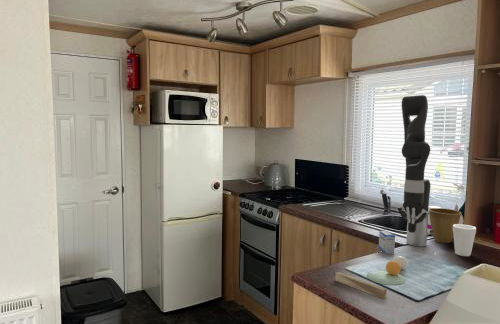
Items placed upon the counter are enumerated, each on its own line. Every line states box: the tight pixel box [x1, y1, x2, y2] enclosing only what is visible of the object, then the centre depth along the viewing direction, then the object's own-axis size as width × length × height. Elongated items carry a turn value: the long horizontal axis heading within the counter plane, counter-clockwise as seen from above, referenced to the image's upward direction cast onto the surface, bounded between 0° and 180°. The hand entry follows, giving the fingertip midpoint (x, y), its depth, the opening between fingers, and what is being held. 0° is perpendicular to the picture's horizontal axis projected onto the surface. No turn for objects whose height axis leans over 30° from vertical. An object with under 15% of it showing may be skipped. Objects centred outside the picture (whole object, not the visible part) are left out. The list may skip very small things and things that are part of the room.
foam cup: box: [453, 223, 477, 257], centre depth 180 cm, size 10×9×13 cm
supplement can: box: [427, 205, 442, 236], centre depth 216 cm, size 8×8×15 cm
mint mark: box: [366, 270, 406, 286], centre depth 150 cm, size 14×14×1 cm
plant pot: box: [429, 207, 462, 244], centre depth 201 cm, size 15×15×16 cm
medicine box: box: [378, 230, 396, 254], centre depth 184 cm, size 8×4×9 cm, turn 5°
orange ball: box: [385, 260, 401, 275], centre depth 153 cm, size 6×6×6 cm
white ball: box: [392, 255, 408, 271], centre depth 159 cm, size 6×6×6 cm
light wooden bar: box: [335, 271, 388, 300], centre depth 139 cm, size 2×20×3 cm, turn 39°
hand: (411, 232), depth 160 cm, fingers closed
